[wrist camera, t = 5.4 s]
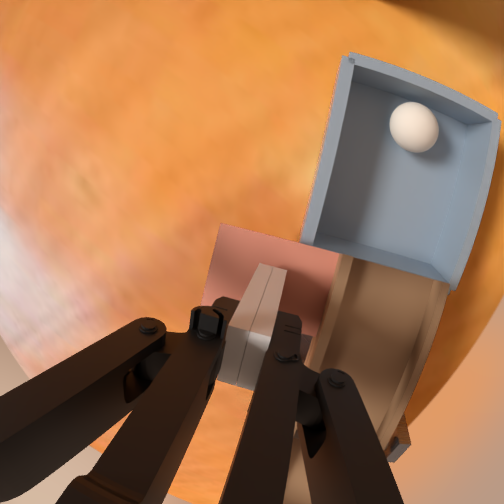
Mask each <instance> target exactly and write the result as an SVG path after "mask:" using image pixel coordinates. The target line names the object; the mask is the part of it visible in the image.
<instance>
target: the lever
mask: <svg viewBox="0 0 504 504" xmlns="http://www.w3.org/2000/svg"><path fill="white" fill-rule="evenodd" d="M259 263H261V264H265V265H269V266H273V267H277V268H281V269H284V270H287V273H286V277H285V282H284V286H283V290H282V295H281V299H280V303H279V308H278V310H279V311H283V312H286V313H290V314H294V315H298V316H299V318H300V319H301V321H302V332H301V333H302V334H306V335H310V336H313V338H312V341H311V344H310V347H309V350H308V354H307V357H306V360H305V363H304V365H305V366H307V367H308V368H309V369H311V370H313V371H315V372H317V373H321V372H322V371H323V370H325V369H329V368H334V369H339V370H342V371H344V372H346V373H347V374H349V375H350V376H351V377H352V379H353V380H354V382H355V384H356V387H357V389H358V391H359V394H360V396H361V398H362V401H363V403H364V405H365V408H366V410H367V412H368V415H369V417H370V419H371V422H372V424H373V427H374V429H375V431H376V434H377V436H378V439H379V441H380V444H381V446H382V449H383V451H384V450H385V449H386V448H387V446H388V444H389V440H390V438H391V436H392V435H393V433H394V431H395V429H396V427H397V425H398V423H399V421H400V419H401V417H402V415H403V413H404V411H405V409H406V407H407V405H408V402H409V400H410V398H411V396H412V394H413V391H414V389H415V387H416V384H417V382H418V380H419V377H420V375H421V372H422V370H423V367H424V365H425V362H426V360H427V357H428V354H429V352H430V349H431V346H432V343H433V340H434V337H435V335H436V332H437V328H438V325H439V322H440V319H441V316H442V312H443V309H444V306H445V302H446V298H447V295H448V291H449V287H450V284H449V283H446V282H442V281H437V280H433V279H430V278H426V277H423V276H419V275H416V274H412V273H409V272H405V271H401V270H398V269H394V268H391V267H387V266H383V265H380V264H376V263H373V262H369V261H365V260H362V259H358V258H354V257H353V256H349V255H345V254H339V253H336V252H332V251H328V250H324V249H321V248H317V247H313V246H309V245H305V244H302V243H298V242H294V241H290V240H286V239H282V238H278V237H274V236H271V235H267V234H263V233H259V232H255V231H251V230H247V229H243V228H239V227H235V226H231V225H227V224H223V223H221V224H220V228H219V232H218V236H217V240H216V244H215V248H214V252H213V256H212V260H211V264H210V268H209V272H208V276H207V280H206V285H205V289H204V293H203V297H202V302H201V306H212V304H213V303H214V301H215V300H216V299H218V298H220V297H222V296H225V297H228V298H232V299H235V300H239V301H241V299H242V297H243V295H244V293H245V291H246V289H247V287H248V285H249V283H250V281H251V279H252V277H253V275H254V273H255V271H256V269H257V267H258V265H259ZM283 504H312V503H311V498H310V492H309V487H308V482H307V476H306V471H305V466H304V461H303V456H302V450H301V445H300V440H299V435H298V430H297V422H296V421H295V428H294V436H293V443H292V450H291V457H290V464H289V471H288V477H287V483H286V489H285V495H284V501H283Z"/></svg>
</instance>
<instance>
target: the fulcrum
mask: <svg viewBox="0 0 504 504" xmlns="http://www.w3.org/2000/svg"><path fill="white" fill-rule="evenodd" d="M312 338H313V336H310V335H306V334H302V333H301V343H300V355H301V358H302V362H303V364H304V363H305V360H306V357H307V354H308V350H309V347H310V344H311V341H312ZM410 445H411V441H410V437H409V432H408V428H407V424H406V420H405V415H404V413H403V415H402V417H401V419H400V421H399V423H398V425H397V427H396V429H395V431H394V433H393V435H392V436H391V438H390V440H389V444H388V446H387V448H386V449H385V450H384V453H385V456H386V458H387V461H388V462H395V461H396V460H397V459H398V458H399V457H400V456H401V455H402V454H403V453H404V452H405V451H406V450H407V448H408V447H409V446H410Z"/></svg>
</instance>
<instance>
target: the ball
mask: <svg viewBox="0 0 504 504" xmlns="http://www.w3.org/2000/svg"><path fill="white" fill-rule="evenodd" d="M390 131H391V135H392V137H393V139H394V140H395V142H396V143H397V144H398V145H399V146H400V147H402V148H403V149H405V150H407V151H409V152H414V153H420V152H424V151H427V150H429V149H430V148H431V147H432V146H433V145H434V144H435V142H436V141H437V138H438V134H439V126H438V122H437V119H436V117H435V115H434V114H433V113H432V112H431V110H430V109H428V108H427V107H426V106H424V105H422V104H420V103H416V102H406V103H403V104H401V105H399V106H398V107H397V108H396V109H395V110H394V111H393V113H392V115H391V118H390Z"/></svg>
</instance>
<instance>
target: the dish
mask: <svg viewBox="0 0 504 504" xmlns="http://www.w3.org/2000/svg"><path fill="white" fill-rule="evenodd" d="M406 102H416V103H420V104H422V105H424V106H426V107H427V108H428V109H430V110H431V112H432V113H433V114H434V115H435V117H436V119H437V122H438V126H439V134H438V138H437V141H436V142H435V144H434V145H433V146H432V147H431V148H430V149H429V150H427V151H424V152H420V153H414V152H409V151H407V150H405V149H403V148H402V147H400V146H399V145H398V144H397V143H396V142H395V140H394V139H393V137H392V135H391V131H390V118H391V115H392V113H393V111H394V110H395V109H396V108H397V107H398V106H399V105H401V104H403V103H406ZM497 117H498V113H496V112H495V111H493V110H491V109H489V108H488V107H486V106H484V105H482V104H480V103H479V102H477V101H475V100H473V99H471V98H469V97H467V96H465V95H463V94H461V93H459V92H457V91H455V90H453V89H451V88H449V87H447V86H444V85H442V84H440V83H438V82H435V81H433V80H431V79H428V78H426V77H424V76H421V75H419V74H416V73H414V72H411V71H408V70H406V69H403V68H400V67H398V66H395V65H392V64H389V63H386V62H383V61H380V60H377V59H374V58H370V57H367V56H364V55H360V54H357V53H353V52H350V53H349V55H348V57H347V56H343V55H342V58H341V61H340V65H339V68H338V71H337V75H336V80H335V85H334V90H333V94H332V99H331V104H330V109H329V114H328V118H327V123H326V127H325V132H324V136H323V141H322V145H321V150H320V154H319V158H318V163H317V167H316V171H315V175H314V180H313V184H312V188H311V192H310V196H309V200H308V204H307V208H306V212H305V216H304V220H303V224H302V228H301V232H300V239H299V243H302V244H305V245H309V246H313V247H317V248H321V249H324V250H328V251H332V252H336V253H339V254H345V255H349V256H353V257H354V258H358V259H362V260H365V261H369V262H373V263H376V264H380V265H383V266H387V267H391V268H394V269H398V270H401V271H405V272H409V273H412V274H416V275H419V276H423V277H426V278H430V279H433V280H437V281H442V282H446V283H449V284H450V287H449V291H448V295H449V294H450V291H451V290H453V291H456V288H457V286H458V284H459V281H460V279H461V276H462V274H463V271H464V269H465V266H466V263H467V261H468V258H469V255H470V252H471V249H472V247H473V244H474V241H475V238H476V235H477V231H478V228H479V225H480V222H481V218H482V215H483V211H484V208H485V204H486V200H487V196H488V192H489V188H490V184H491V180H492V175H493V170H494V165H495V160H496V155H497V149H498V143H499V136H500V129H501V121H500V120H499V119H497Z"/></svg>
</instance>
